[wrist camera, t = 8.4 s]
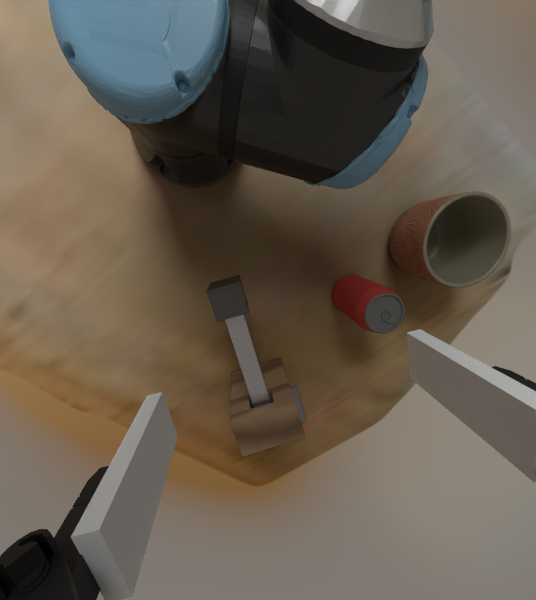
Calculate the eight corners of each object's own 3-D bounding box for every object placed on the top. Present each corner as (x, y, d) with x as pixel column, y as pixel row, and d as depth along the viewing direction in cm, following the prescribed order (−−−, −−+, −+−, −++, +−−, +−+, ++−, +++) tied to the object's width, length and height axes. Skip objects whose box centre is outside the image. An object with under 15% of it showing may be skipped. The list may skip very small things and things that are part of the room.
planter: (442, 275, 49) (499, 287, 38) (376, 275, 47) (416, 288, 37) (455, 201, 46) (521, 192, 35) (385, 199, 44) (431, 189, 34)
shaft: (210, 283, 37) (206, 291, 32) (239, 274, 37) (239, 281, 32) (256, 421, 43) (259, 445, 38) (280, 414, 43) (286, 437, 38)
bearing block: (231, 372, 49) (229, 421, 36) (280, 357, 49) (295, 401, 36) (241, 400, 50) (242, 456, 38) (288, 386, 51) (305, 437, 38)
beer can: (346, 318, 49) (380, 346, 37) (322, 293, 47) (351, 314, 35) (374, 293, 48) (418, 313, 36) (351, 266, 46) (390, 278, 35)
